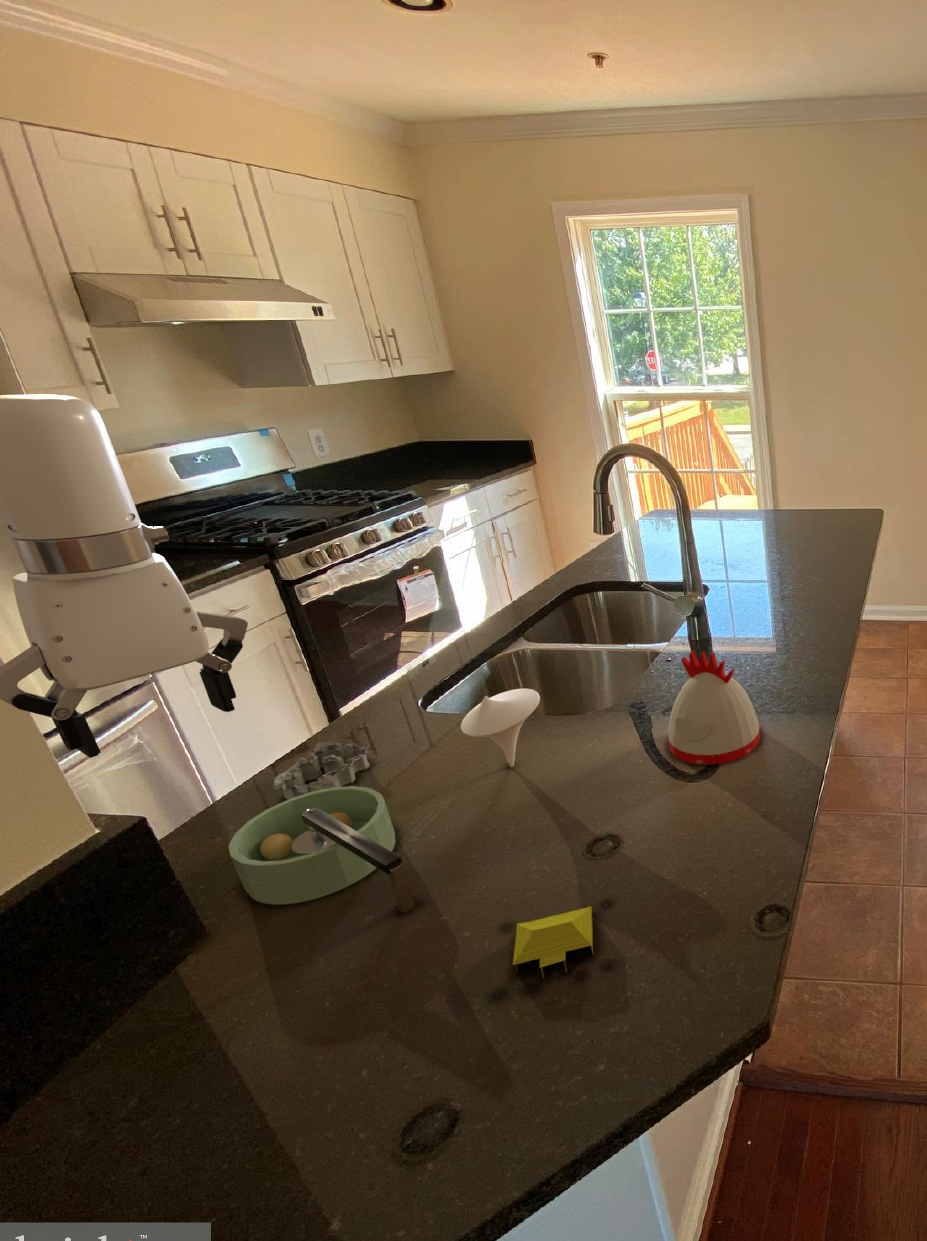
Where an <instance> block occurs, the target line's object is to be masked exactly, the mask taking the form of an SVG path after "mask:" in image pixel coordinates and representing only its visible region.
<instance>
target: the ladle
mask: <svg viewBox="0 0 927 1241" xmlns="http://www.w3.org/2000/svg"><path fill="white" fill-rule="evenodd" d="M301 816H302V819H303V822H304V823H305V824H307V825H308V827H309V830H308V831H306V832H304V833H303V834H301V835H300V836H298V837H297V838H296V839H295V840H294V841H293V843H292V850H293V853H294V856H295V857H300V856H304V855H308V854H311V853H314V852H317V851H319V850H322V849H325V848H327V847H330V846H332V845H334V844H336V843H338V844H339V845H341V846H342V847H344V848H346V849H347V850H349V851H351V852H352V853H354V854H356V855H357V856H359V857H360V858H362V859H364V860H365V861H367V862H369V863H370V864H372V865H373V866H375V867H377V868H376V869H378V870H380V871H381V872H384V873H385V874H386V875H388V878H389V882H390V886H391V888H392V892H393V895H394V898H395V902H396V906H397V908H398V911H400V913H403V914H406V913H408V912H410V910H412V909H413V908H415V907H416V905H415V901H414V898H413V895H412V890H411V887H410V884H409V881H408V877H407V874H406V870H405V867H404V864H403V861H402V858H401V856H400V855H398V854H397V853H395V852H393V851H392V852H391V851H390V850H388V849H386V848H385V847H383V846H381V845H379V844H378V843H376V842H374V841H373V840H371V839H369V838H368V837H366V836H364V835H363V834H361V833H359V832H357V831H356V830H354V829H352V828H351V827H349V826H347V825H346V824H344V823H342V822H340V821H339V820H337V819H335V818H334V817H332V816H330V815H329V814H327V813H325V812H324V811H322V810H320V809H318V808H317V807H316V808H314V809H308V810H306V811H305V812H304V813H303V814H301Z"/></svg>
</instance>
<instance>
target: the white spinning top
mask: <svg viewBox="0 0 927 1241" xmlns="http://www.w3.org/2000/svg"><path fill="white" fill-rule="evenodd" d="M540 700H541V697H540V694H539V692H537V691H536V690H535V689H531V688H516V689H515V688H514V689H510V690H507V691H503V692H499V693H498V694H495V695H493V696H491V697H489V696H488V695H485V696H484V697H483V699H482V701H481V702H479V703H478V704H477V705H476V706H475V707H473V708H472V709H471V710H470V711H468V712H467V714H466V715H465V716H464V718H463V719H462V721H461V723H460V731H461V732H462V733H463V734H465V735H466V736H469V737H482V738H486V739H489V740H491V741H494V743H496V744H497V745H498V746H499V747H500V748H501V750H502V751H503V753H504V756H505V759H506V761H507V764H508V765H509V767H510V768H514V766H515V759H516V758H515V757H516V756H515V755H516V749H517V742H518V737H519V734H520V730H521V728H522V726H523V724H524V723H525V721H526V720H527V719H528V717H529V716H530V715H532V714H533V712H534V711H535V710H536V709H537V708H538V706H539V704H540Z"/></svg>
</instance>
